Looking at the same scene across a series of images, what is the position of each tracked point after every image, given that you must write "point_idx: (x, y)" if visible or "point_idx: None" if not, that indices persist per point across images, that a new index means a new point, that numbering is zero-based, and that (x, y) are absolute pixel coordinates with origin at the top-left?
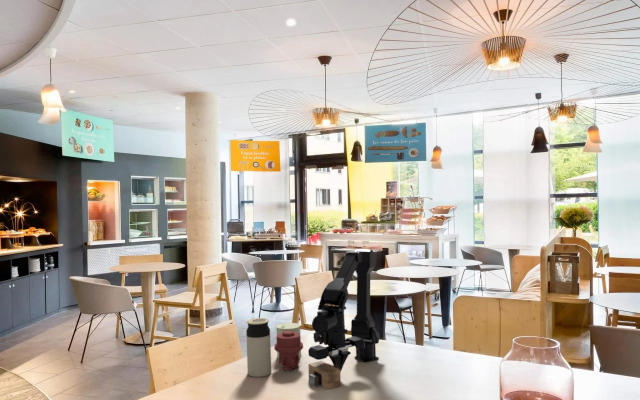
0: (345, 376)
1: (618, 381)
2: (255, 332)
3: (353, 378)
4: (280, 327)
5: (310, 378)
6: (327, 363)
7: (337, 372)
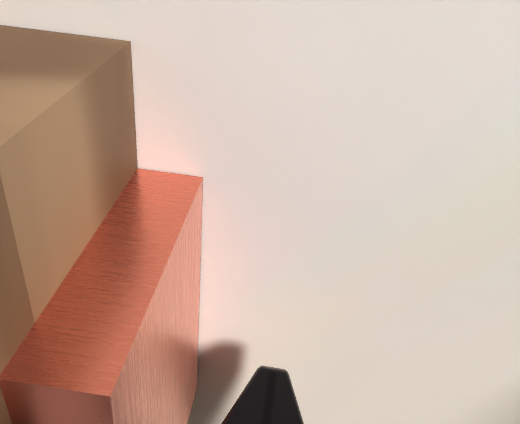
0: (430, 323)
1: None
2: None
3: (436, 418)
4: None
5: None
6: (78, 398)
7: None
